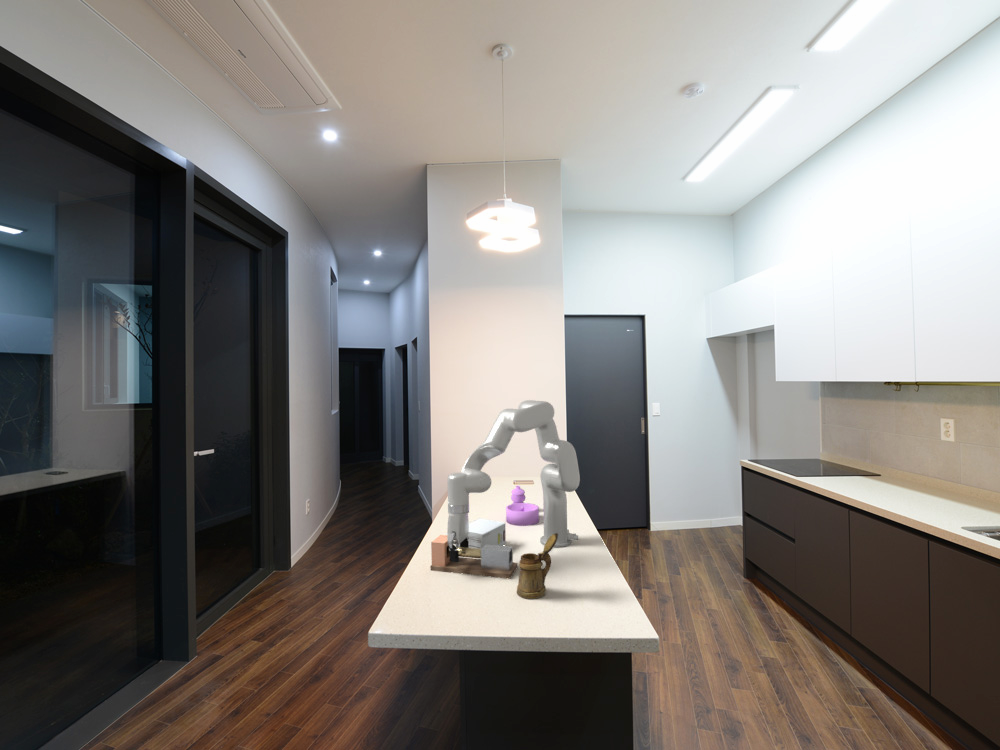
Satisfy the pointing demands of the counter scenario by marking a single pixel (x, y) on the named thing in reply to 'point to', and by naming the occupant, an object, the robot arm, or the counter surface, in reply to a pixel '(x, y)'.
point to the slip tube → (467, 552)
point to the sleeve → (497, 557)
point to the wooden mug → (535, 571)
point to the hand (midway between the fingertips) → (459, 556)
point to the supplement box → (486, 533)
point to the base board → (473, 568)
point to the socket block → (440, 551)
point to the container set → (521, 510)
